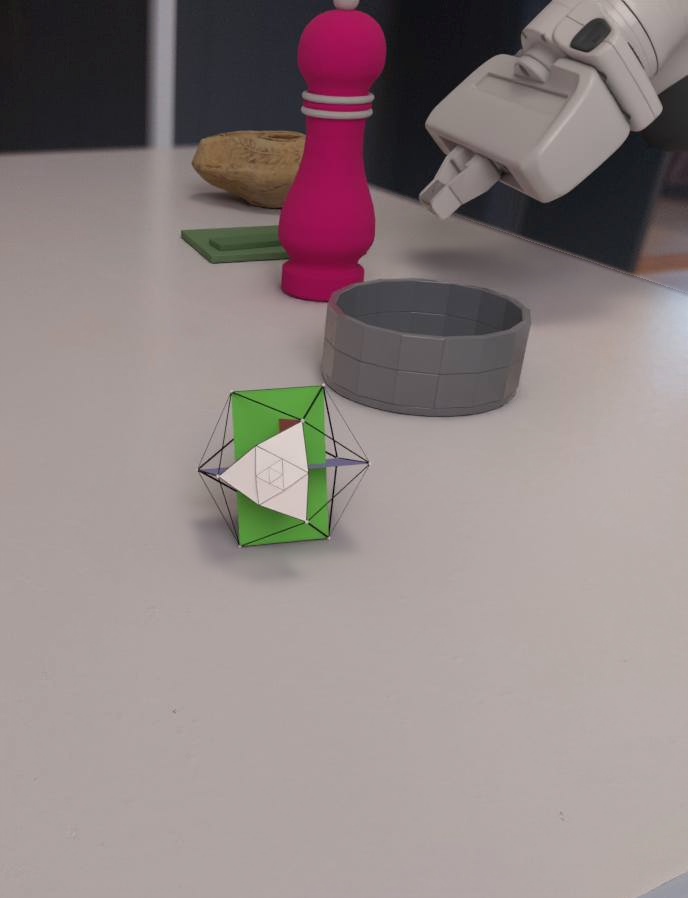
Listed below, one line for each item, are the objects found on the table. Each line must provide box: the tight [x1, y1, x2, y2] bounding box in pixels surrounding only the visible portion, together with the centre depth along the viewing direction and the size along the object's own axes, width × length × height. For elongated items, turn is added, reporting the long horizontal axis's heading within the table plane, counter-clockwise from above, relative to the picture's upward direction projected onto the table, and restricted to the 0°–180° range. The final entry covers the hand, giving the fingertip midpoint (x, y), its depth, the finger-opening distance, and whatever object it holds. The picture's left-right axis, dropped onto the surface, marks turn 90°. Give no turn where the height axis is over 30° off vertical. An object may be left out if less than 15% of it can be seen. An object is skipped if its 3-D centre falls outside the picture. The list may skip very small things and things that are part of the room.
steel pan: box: [321, 277, 532, 417], centre depth 62 cm, size 12×12×4 cm
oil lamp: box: [191, 130, 306, 209], centre depth 102 cm, size 11×15×8 cm
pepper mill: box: [278, 0, 387, 302], centre depth 73 cm, size 7×7×20 cm
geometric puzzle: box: [195, 383, 373, 549], centre depth 45 cm, size 7×7×8 cm
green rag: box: [180, 224, 367, 264], centre depth 90 cm, size 14×9×1 cm, turn 107°
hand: (429, 209), depth 77 cm, fingers closed
